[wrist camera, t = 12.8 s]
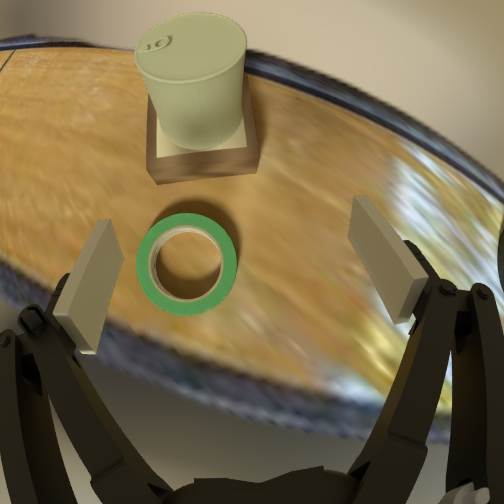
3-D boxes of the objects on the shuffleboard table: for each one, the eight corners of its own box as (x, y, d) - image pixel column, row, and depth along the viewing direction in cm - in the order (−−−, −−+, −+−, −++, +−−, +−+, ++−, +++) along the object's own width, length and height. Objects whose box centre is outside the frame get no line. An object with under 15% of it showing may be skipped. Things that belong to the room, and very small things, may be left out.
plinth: (244, 94, 36) (246, 71, 31) (256, 173, 35) (259, 155, 30) (157, 105, 35) (148, 83, 30) (157, 185, 34) (145, 169, 29)
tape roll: (147, 215, 34) (141, 209, 31) (239, 220, 35) (240, 215, 32) (139, 309, 33) (132, 310, 30) (233, 317, 33) (233, 319, 31)
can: (161, 88, 30) (139, 16, 18) (239, 81, 31) (243, 5, 19) (158, 155, 29) (124, 88, 17) (245, 146, 30) (253, 73, 18)
